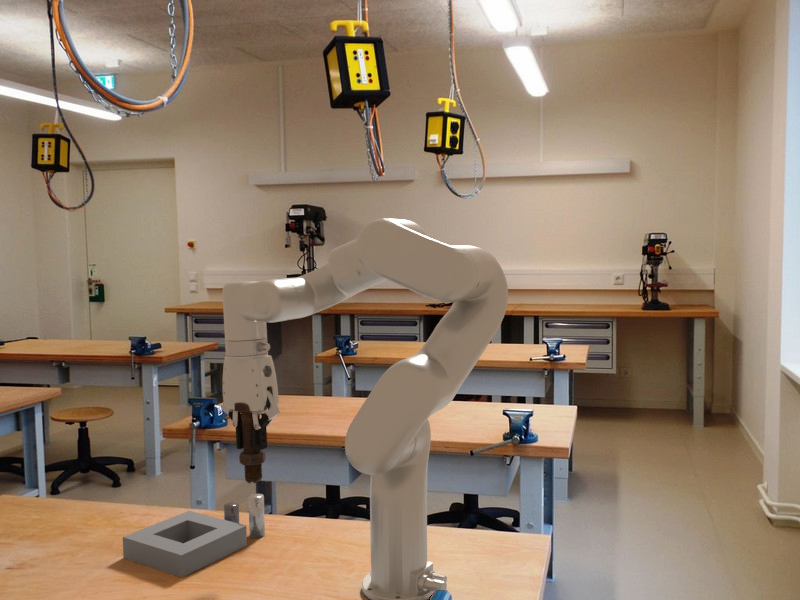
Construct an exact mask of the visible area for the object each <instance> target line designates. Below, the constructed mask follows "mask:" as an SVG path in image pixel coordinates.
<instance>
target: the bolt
mask: <svg viewBox="0 0 800 600" xmlns="http://www.w3.org/2000/svg"><path fill="white" fill-rule="evenodd" d="M234 408H235V411H239V412H241V413H240V414H241V419H242V426H243V427H242V428H243V429H242V430H243V446H244V447H243V448H242V450H243V451H241V452H240V453H239V464H240V465H242V466H243V468H244V479H245V481H246V483H247V484H251V483H253V484H257V483H258V482H260V481H261V480H262V478H263V468H262V467H263V466H262V465H263V463H265V462H266V451H265V449H262V450H259V451H253V445H252V430H253V429H255V428H254V423H253V416H252V412H251V411H249V406H248V405H247V404H245V403H235V404H234ZM259 417H260V418H261V414H260V415H259Z"/></svg>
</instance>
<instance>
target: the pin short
mask: <svg viewBox="0 0 800 600" xmlns="http://www.w3.org/2000/svg"><path fill="white" fill-rule="evenodd" d="M223 515H224V516H223V520H227V521H231V522H234V523H238V524H240V503H239V502H235V501H233V502H231V501H230V502H226V503H224V504H223Z"/></svg>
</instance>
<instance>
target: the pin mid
mask: <svg viewBox="0 0 800 600" xmlns="http://www.w3.org/2000/svg"><path fill="white" fill-rule="evenodd" d="M248 524H249V527H248V528H249V529H248V530H249V538H251V537H252V539H260V538H263V537H264V536H266V535H265V534H266V533H265V532H266V530H265V528H266V527H265V525H266V524H265V496H264V494H263V493H253V494H249V496H248Z"/></svg>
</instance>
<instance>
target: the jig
mask: <svg viewBox="0 0 800 600" xmlns="http://www.w3.org/2000/svg"><path fill="white" fill-rule="evenodd" d="M247 537H248V535H247V525H245V524H241V523H239V524H238V523H234V522H231V521H227V520H224V518H219V517H214V516H211V515H208V514H203V513H199V512H195V511H193V510H187V511H185V512H182V513H179V514H177V515H175V516H173V517H170V518H167V519H165V520H163V521H160V522H157V523H155V524H152V525H149V526H146V527H144V528H142V529H139V530H137V531H135V532H132V533H129V534H127V535H123V536H122V551H123V552H122V557H123V559H125V558H126V559H125V560H128V561H131V562H134V563H138V564H141V565H144V566H147V567H150V568H153V569H154V570H159V571H162V572H165V573H168V574H170V575H174V576H176V577H179V578H183V577H186V576H189V575H190V574H193V573H194V572H196V571H198V570H200V569H202V568H203V569H204V568H205V567H208V566H209V565H211V564H212V563H214V562H216V561H219V560H222V559H223V558H225V557H227V556H229V555H231V554H232V553H235V552H237V551H239V550H241V549H243V548H245V547H247V546H248V539H247Z"/></svg>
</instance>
